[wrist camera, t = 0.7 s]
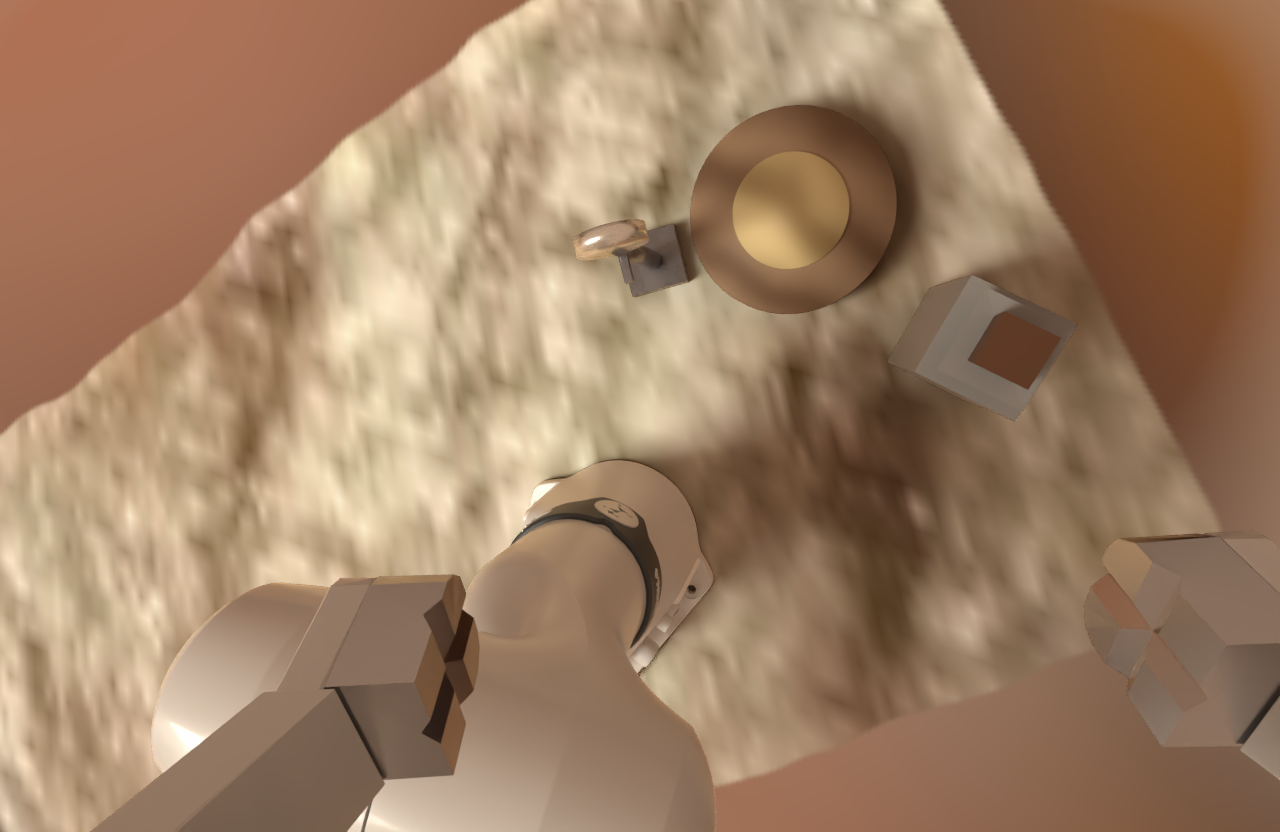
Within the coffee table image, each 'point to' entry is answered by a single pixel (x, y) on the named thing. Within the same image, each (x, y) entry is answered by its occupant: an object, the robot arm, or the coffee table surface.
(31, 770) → the coffee table surface
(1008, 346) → the perfume bottle
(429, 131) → the coffee table surface
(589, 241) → the dial indicator
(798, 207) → the turntable
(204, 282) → the coffee table surface
